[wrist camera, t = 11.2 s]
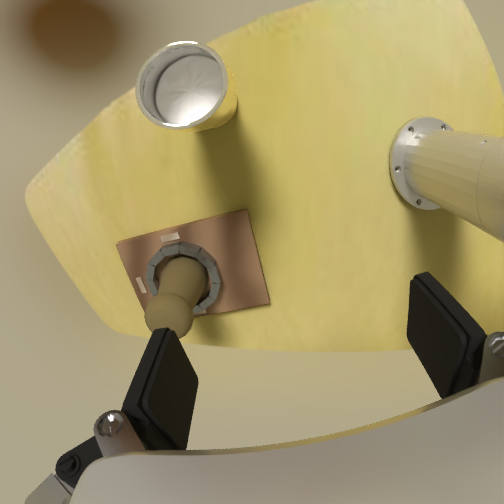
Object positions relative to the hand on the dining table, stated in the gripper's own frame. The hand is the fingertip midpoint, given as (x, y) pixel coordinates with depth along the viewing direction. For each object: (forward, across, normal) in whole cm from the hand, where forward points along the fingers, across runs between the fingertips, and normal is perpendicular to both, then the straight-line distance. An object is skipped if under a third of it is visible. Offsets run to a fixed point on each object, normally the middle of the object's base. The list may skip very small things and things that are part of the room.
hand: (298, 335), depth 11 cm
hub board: (+26, +12, +8) cm, 30 cm away
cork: (+25, +13, +8) cm, 29 cm away
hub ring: (+25, +13, +8) cm, 29 cm away
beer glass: (+26, +4, -12) cm, 29 cm away
